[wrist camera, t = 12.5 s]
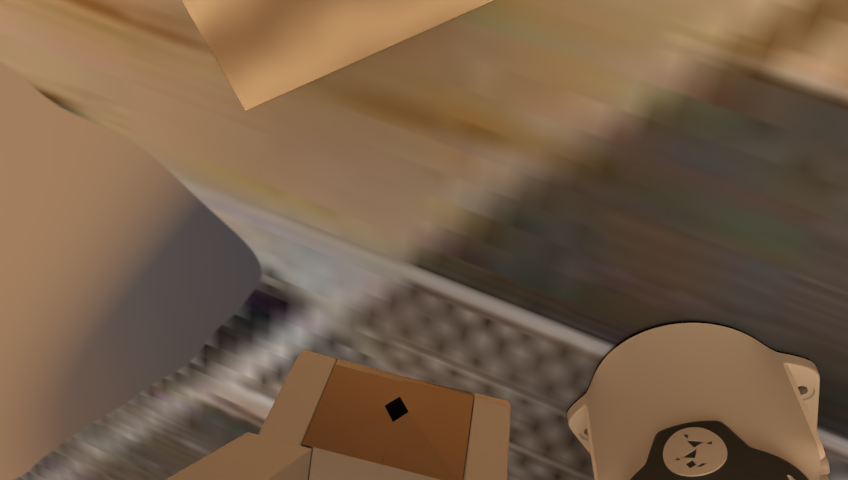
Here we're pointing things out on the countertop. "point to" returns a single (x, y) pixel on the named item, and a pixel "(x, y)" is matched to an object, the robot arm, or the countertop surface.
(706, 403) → the robot arm
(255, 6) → the dial plate
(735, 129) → the countertop surface
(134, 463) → the countertop surface
